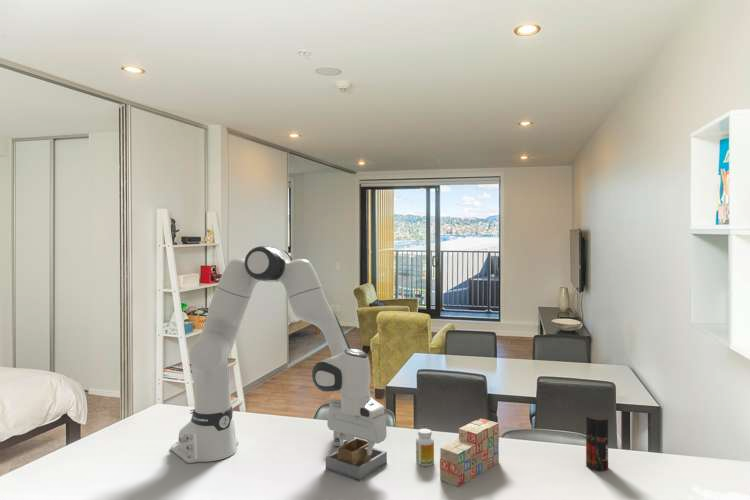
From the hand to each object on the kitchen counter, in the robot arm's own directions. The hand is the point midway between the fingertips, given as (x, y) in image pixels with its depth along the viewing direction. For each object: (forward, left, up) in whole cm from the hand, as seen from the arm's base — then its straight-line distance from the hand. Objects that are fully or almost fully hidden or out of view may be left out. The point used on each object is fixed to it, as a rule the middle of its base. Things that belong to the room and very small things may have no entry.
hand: (355, 450), depth 147 cm
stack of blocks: (+29, +17, -5) cm, 34 cm away
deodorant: (+59, +41, -5) cm, 72 cm away
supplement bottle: (+16, +14, -5) cm, 22 cm away
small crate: (0, 0, -4) cm, 4 cm away
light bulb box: (-15, +13, -5) cm, 21 cm away
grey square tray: (0, 0, -5) cm, 5 cm away
